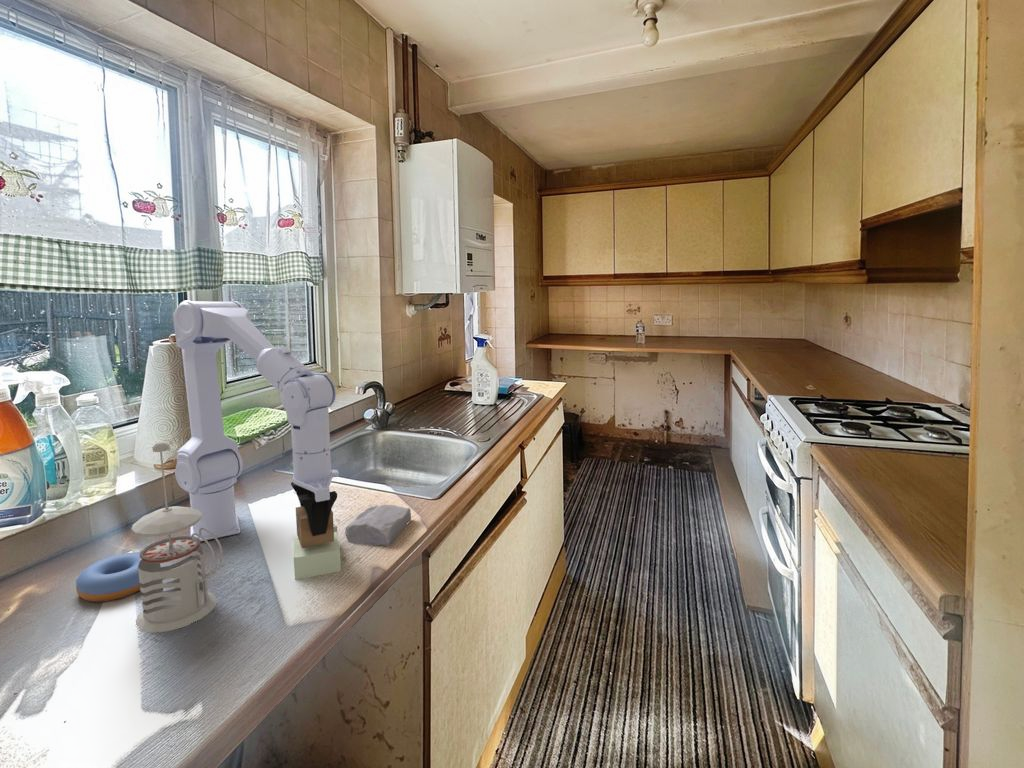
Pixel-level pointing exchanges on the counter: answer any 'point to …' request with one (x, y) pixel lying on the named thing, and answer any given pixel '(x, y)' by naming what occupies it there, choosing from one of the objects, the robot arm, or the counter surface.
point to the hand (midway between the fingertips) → (315, 527)
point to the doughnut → (110, 578)
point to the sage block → (316, 559)
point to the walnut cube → (305, 532)
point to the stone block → (378, 525)
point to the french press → (189, 591)
